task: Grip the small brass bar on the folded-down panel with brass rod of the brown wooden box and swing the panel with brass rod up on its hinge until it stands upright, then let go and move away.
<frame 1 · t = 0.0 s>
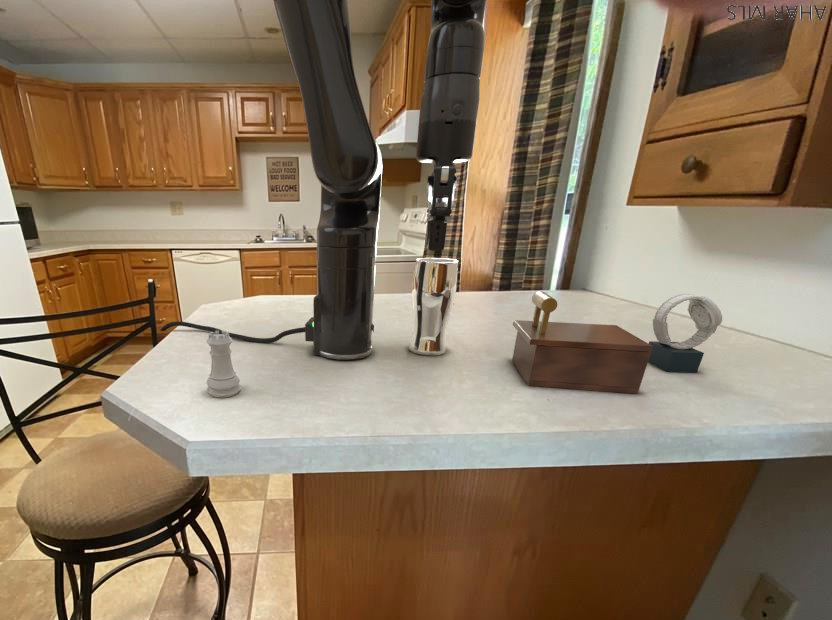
hand: (434, 247, 63), 17 cm above the countertop, tool pointing down, fingers open, 8 cm apart
brown wooden box: (568, 375, 62), on the countertop
panel with brass rod: (579, 317, 59), point 9 cm above the countertop, hinge at 0.0°
beer glass: (427, 351, 73), on the countertop
watch: (669, 367, 66), on the countertop
rook chess piece: (224, 393, 56), on the countertop
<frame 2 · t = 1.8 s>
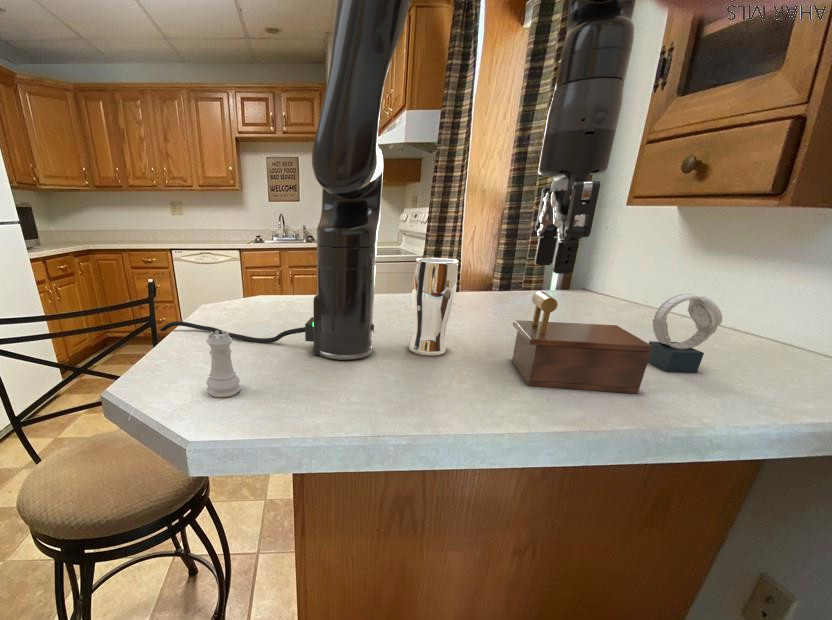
hand: (551, 268, 57), 15 cm above the countertop, tool pointing down, fingers open, 8 cm apart
nothing on the countertop moved.
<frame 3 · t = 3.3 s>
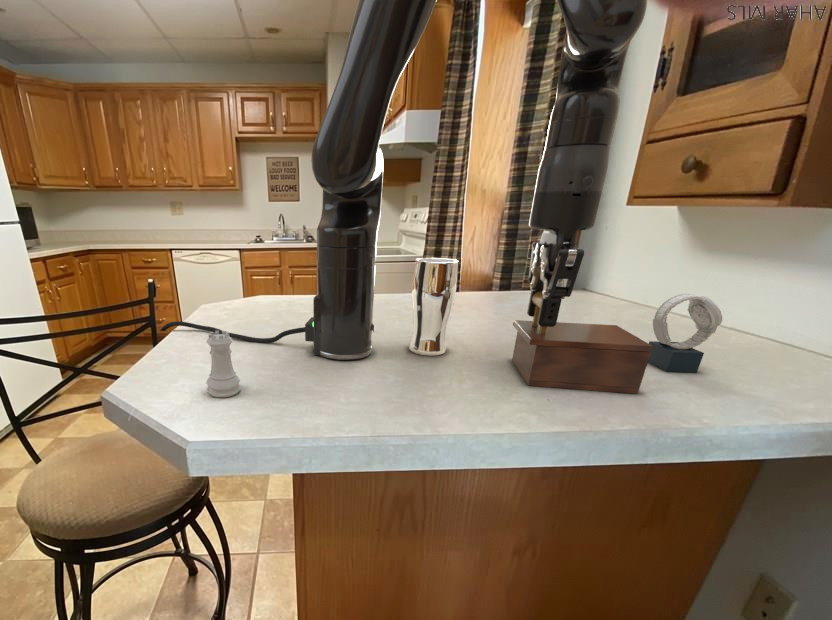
hand: (540, 320, 60), 8 cm above the countertop, tool pointing down, fingers closed on panel with brass rod, 5 cm apart
panel with brass rod: (579, 317, 59), point 9 cm above the countertop, hinge at 0.0°, touching gripper
everything else where it was.
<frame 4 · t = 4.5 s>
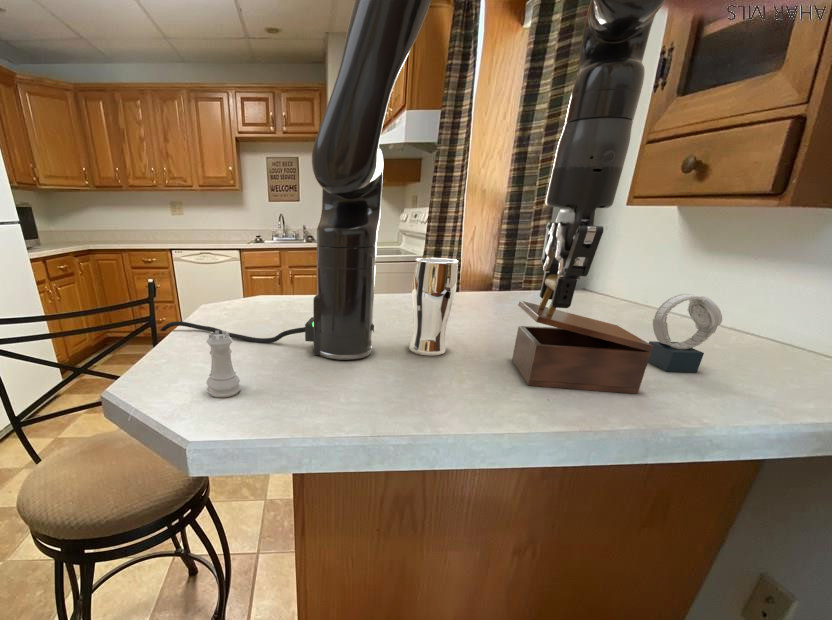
hand: (553, 302, 59), 11 cm above the countertop, tool pointing down, fingers closed on panel with brass rod, 5 cm apart
panel with brass rod: (587, 306, 58), point 10 cm above the countertop, hinge at 12.3°, touching gripper
everything else where it was.
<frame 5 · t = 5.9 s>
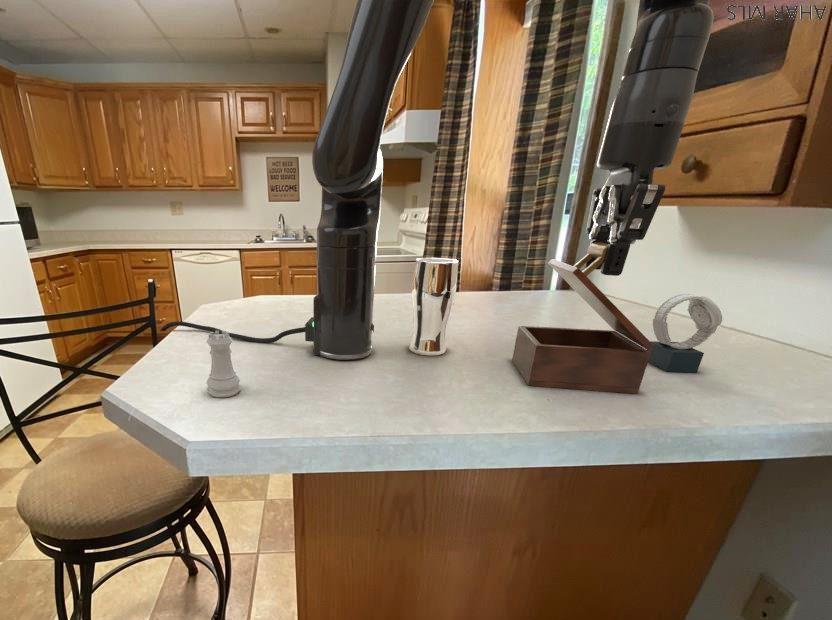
hand: (601, 271, 56), 15 cm above the countertop, tool pointing down, fingers closed on panel with brass rod, 5 cm apart
panel with brass rod: (614, 288, 56), point 13 cm above the countertop, hinge at 40.5°, touching gripper
everything else where it was.
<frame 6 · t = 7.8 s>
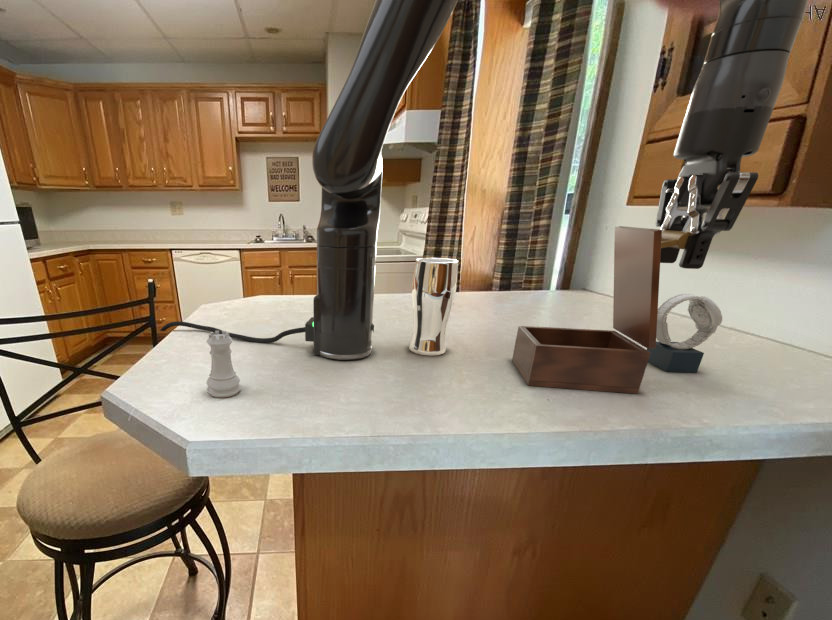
hand: (676, 264, 54), 16 cm above the countertop, tool pointing down, fingers closed on panel with brass rod, 5 cm apart
panel with brass rod: (656, 281, 55), point 14 cm above the countertop, hinge at 77.0°, touching gripper
everything else where it was.
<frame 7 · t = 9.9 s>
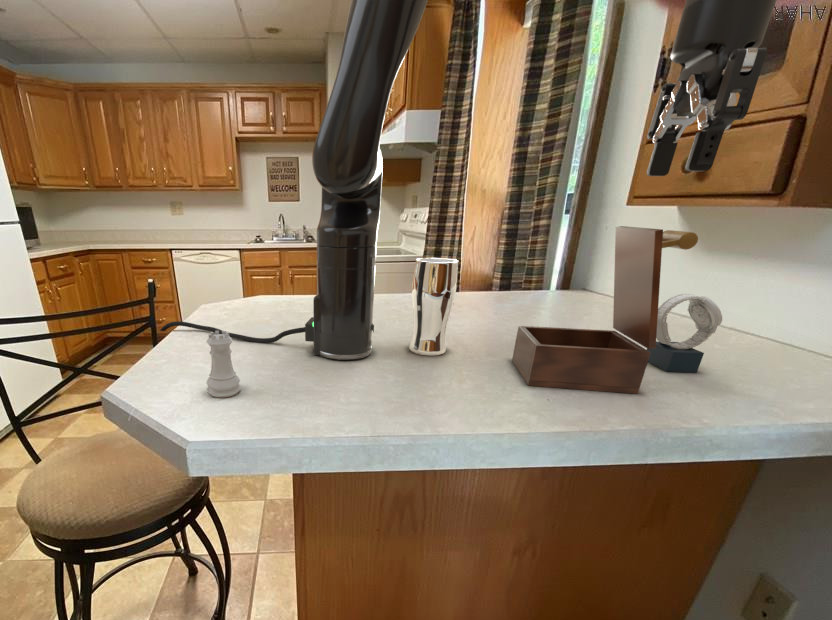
hand: (675, 173, 50), 27 cm above the countertop, tool pointing down, fingers open, 8 cm apart
panel with brass rod: (656, 281, 55), point 14 cm above the countertop, hinge at 77.5°
everything else where it was.
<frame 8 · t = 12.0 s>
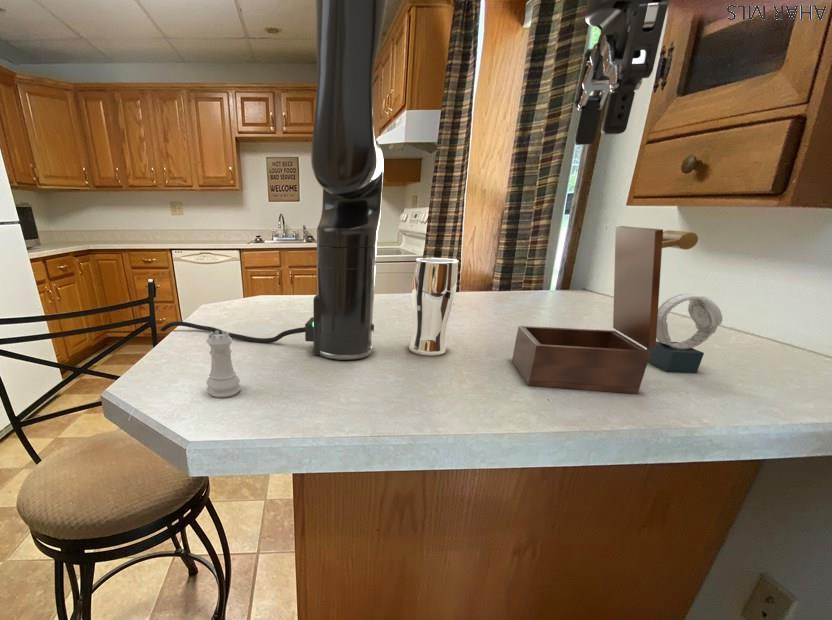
hand: (596, 139, 49), 30 cm above the countertop, tool pointing down, fingers open, 8 cm apart
nothing on the countertop moved.
at the end: panel with brass rod at +78° (first picture: +0°) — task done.
